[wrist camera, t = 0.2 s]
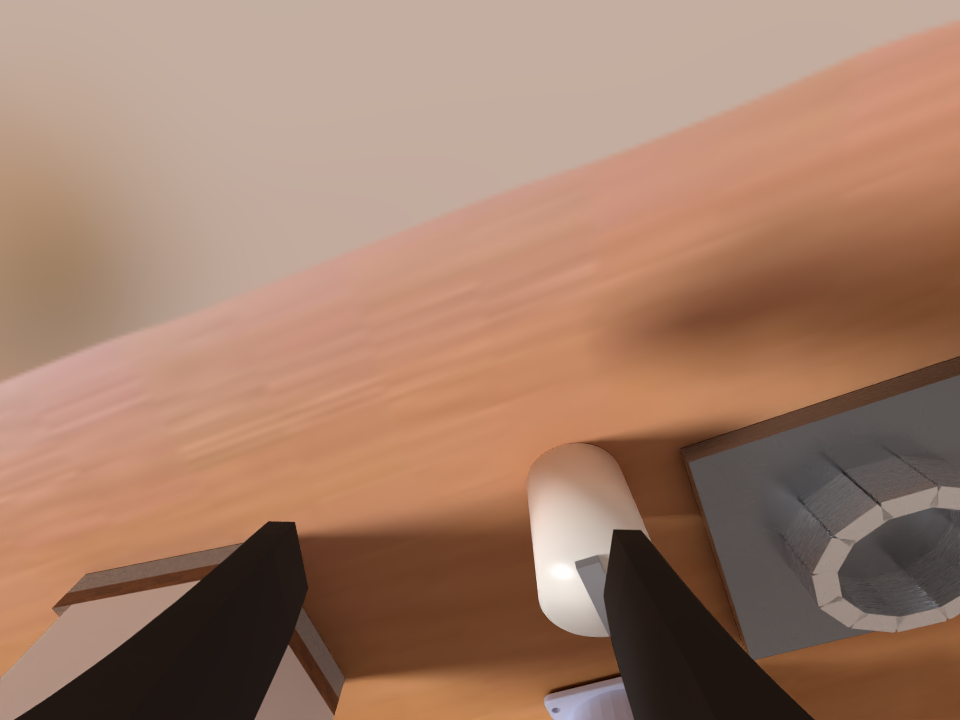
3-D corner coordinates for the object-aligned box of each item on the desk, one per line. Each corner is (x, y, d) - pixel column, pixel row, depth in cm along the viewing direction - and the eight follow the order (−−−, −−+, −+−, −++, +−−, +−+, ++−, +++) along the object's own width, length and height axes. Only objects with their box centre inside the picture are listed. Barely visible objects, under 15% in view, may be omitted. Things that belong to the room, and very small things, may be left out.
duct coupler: (634, 503, 22) (685, 625, 16) (546, 530, 23) (564, 657, 17) (605, 429, 20) (651, 536, 14) (511, 462, 21) (519, 575, 15)
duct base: (1025, 573, 23) (1098, 629, 20) (742, 642, 25) (772, 700, 23) (1031, 333, 18) (1130, 363, 15) (679, 449, 20) (709, 493, 18)
